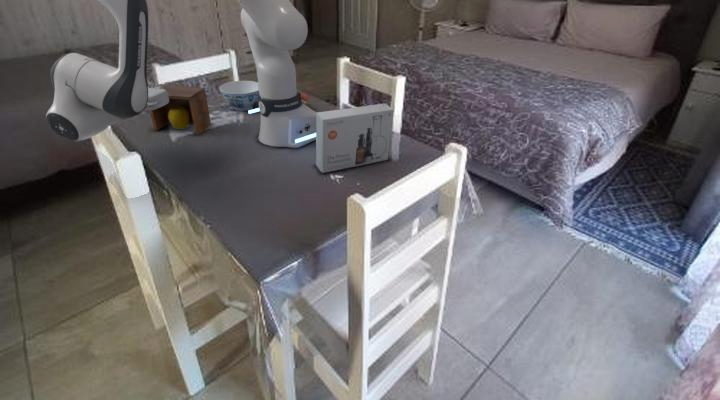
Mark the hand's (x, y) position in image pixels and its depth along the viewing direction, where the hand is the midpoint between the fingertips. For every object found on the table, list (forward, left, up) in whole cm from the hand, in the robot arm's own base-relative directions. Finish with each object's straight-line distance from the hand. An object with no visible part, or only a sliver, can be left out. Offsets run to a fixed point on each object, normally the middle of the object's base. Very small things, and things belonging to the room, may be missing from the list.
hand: (145, 87), depth 108 cm
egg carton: (-49, -3, -17) cm, 52 cm away
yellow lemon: (-9, -8, -17) cm, 21 cm away
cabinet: (-10, -8, -17) cm, 22 cm away
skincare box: (-38, +44, -18) cm, 61 cm away
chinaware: (-34, -14, -17) cm, 41 cm away
